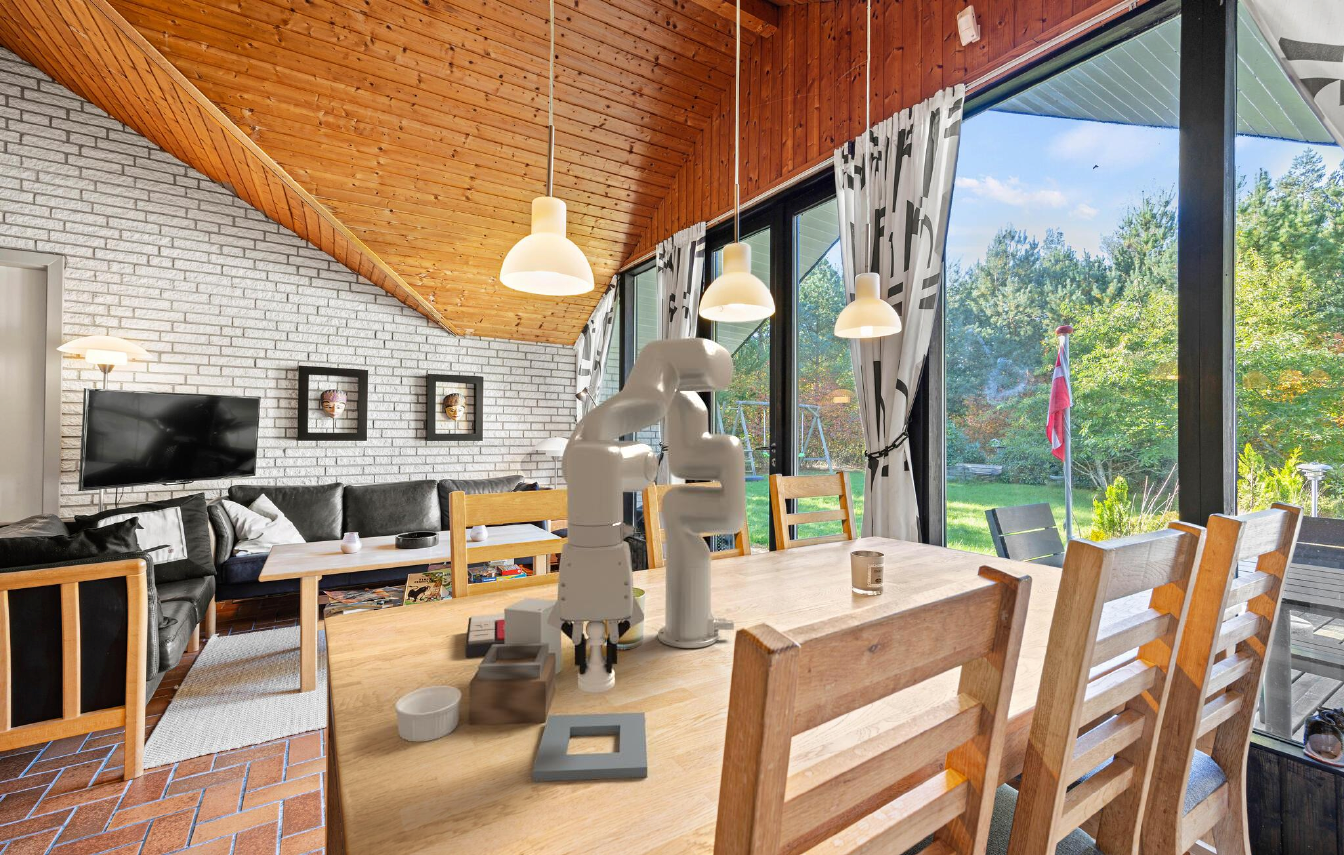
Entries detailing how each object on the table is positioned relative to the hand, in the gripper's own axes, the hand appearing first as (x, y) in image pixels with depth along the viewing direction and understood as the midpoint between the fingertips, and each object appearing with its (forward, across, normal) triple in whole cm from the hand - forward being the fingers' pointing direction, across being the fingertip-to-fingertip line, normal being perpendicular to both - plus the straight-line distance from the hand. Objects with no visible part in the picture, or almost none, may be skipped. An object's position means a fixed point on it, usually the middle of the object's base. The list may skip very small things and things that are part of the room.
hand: (596, 668), depth 78 cm
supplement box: (+11, +12, -23) cm, 29 cm away
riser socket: (+11, +13, -12) cm, 21 cm away
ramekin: (+11, +24, -6) cm, 27 cm away
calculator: (+12, +23, -41) cm, 48 cm away
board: (+10, 0, +1) cm, 10 cm away
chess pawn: (+3, 0, 0) cm, 3 cm away
